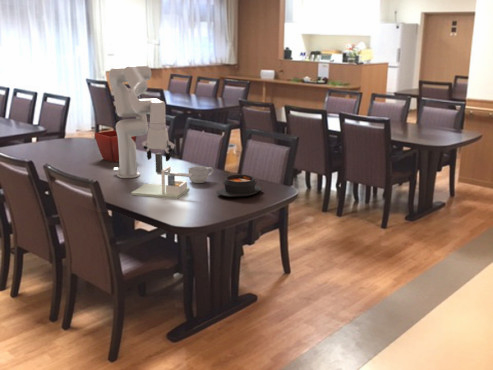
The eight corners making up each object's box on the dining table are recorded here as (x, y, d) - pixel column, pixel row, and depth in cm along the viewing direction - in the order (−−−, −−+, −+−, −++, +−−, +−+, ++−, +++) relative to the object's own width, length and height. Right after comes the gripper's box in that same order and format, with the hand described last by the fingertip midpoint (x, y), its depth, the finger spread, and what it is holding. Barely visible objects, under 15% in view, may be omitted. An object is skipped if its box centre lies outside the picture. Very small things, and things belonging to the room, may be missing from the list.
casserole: (246, 186, 302) (247, 170, 300) (270, 194, 288) (270, 178, 286) (208, 194, 287) (208, 177, 284) (231, 202, 273) (231, 186, 271)
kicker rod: (155, 189, 286) (154, 154, 281) (159, 187, 290) (158, 152, 286) (190, 192, 281) (189, 156, 277) (193, 190, 286) (193, 154, 281)
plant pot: (95, 159, 357) (93, 132, 353) (121, 154, 370) (120, 129, 366) (111, 164, 344) (110, 137, 340) (138, 159, 357) (137, 133, 353)
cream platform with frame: (131, 194, 283) (130, 170, 279) (146, 185, 299) (145, 162, 296) (176, 199, 277) (176, 174, 274) (189, 189, 294) (189, 165, 290)
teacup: (190, 185, 302) (190, 170, 300) (186, 180, 312) (186, 165, 310) (215, 183, 305) (215, 169, 303) (211, 178, 315) (211, 164, 313)
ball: (176, 193, 284) (170, 188, 284) (179, 191, 288) (173, 186, 288) (181, 188, 283) (175, 183, 283) (183, 186, 286) (178, 181, 286)
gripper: (138, 126, 278) (139, 160, 283) (171, 128, 274) (172, 163, 279) (144, 123, 285) (145, 156, 290) (177, 126, 281) (177, 159, 286)
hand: (158, 159), depth 284 cm, fingers open, 9 cm apart
